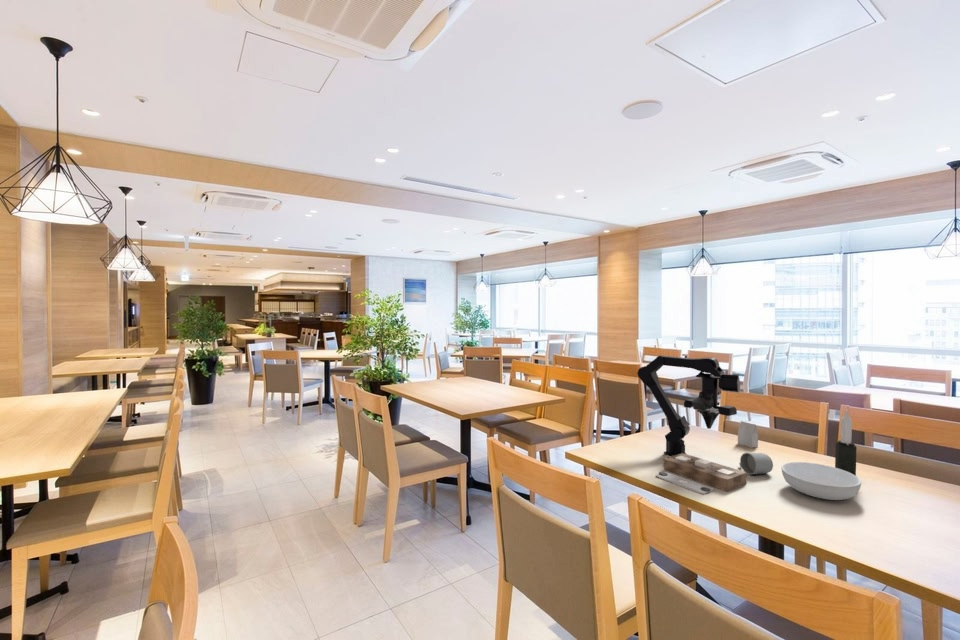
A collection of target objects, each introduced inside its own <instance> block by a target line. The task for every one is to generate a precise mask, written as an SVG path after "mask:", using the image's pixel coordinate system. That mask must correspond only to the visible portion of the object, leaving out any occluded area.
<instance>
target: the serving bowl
mask: <svg viewBox="0 0 960 640" xmlns="http://www.w3.org/2000/svg"><path fill="white" fill-rule="evenodd" d="M781 473H782V476H783V479H784V480H785V482H786V483H787V484H788V485H789V486H791V488H793V489H794V490H796V491H797V492H800V493H802V494H805V495H807V496H811V497H814V498H818V499H821V498H822V500H830V501H833V500H834V501H842V500H848V499H851V498H853V497H855V496H856V495H857V494H858V493H859V491H860V489H861V486H862V479H861V478H860V477H858V476H857V475H856V476H855V475H854V474H852V473H849V472H847V471H844V470H841V469H838V468H835V466H832V465H831V466H830V465H825V464H820V463H813V462H808V461H807V462H805V461H792V462H786V463H783V464H781Z"/></svg>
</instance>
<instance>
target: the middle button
mask: <svg viewBox="0 0 960 640" xmlns="http://www.w3.org/2000/svg"><path fill="white" fill-rule="evenodd" d="M712 462H713V461H711V460H708V459H703V458H701V459H698V460H695V465H696V466H699V467H702V468H705V469H707V468H710V467H712Z"/></svg>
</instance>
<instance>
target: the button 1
mask: <svg viewBox="0 0 960 640" xmlns="http://www.w3.org/2000/svg"><path fill="white" fill-rule="evenodd" d="M675 459H677V460H680V461H683V462H687V461H690V460H691V458H687V457H684V456H678V457H675Z"/></svg>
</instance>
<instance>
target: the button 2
mask: <svg viewBox="0 0 960 640" xmlns="http://www.w3.org/2000/svg"><path fill="white" fill-rule="evenodd" d="M717 472H718V473H721V474H724V475H727V476H730V475H733V474H734V473H735V472H733V471H730V470H726V469H720V470H717Z"/></svg>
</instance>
